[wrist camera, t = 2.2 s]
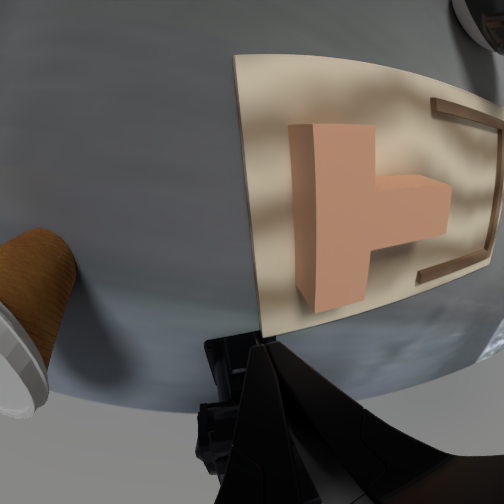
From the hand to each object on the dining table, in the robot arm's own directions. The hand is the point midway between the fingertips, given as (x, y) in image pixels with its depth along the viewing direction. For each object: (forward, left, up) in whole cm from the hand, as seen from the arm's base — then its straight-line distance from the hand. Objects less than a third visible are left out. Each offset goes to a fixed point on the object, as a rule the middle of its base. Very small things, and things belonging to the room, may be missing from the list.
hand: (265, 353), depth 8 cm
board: (0, -19, -13) cm, 23 cm away
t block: (0, -11, -12) cm, 16 cm away
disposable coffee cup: (-1, +15, -13) cm, 20 cm away
